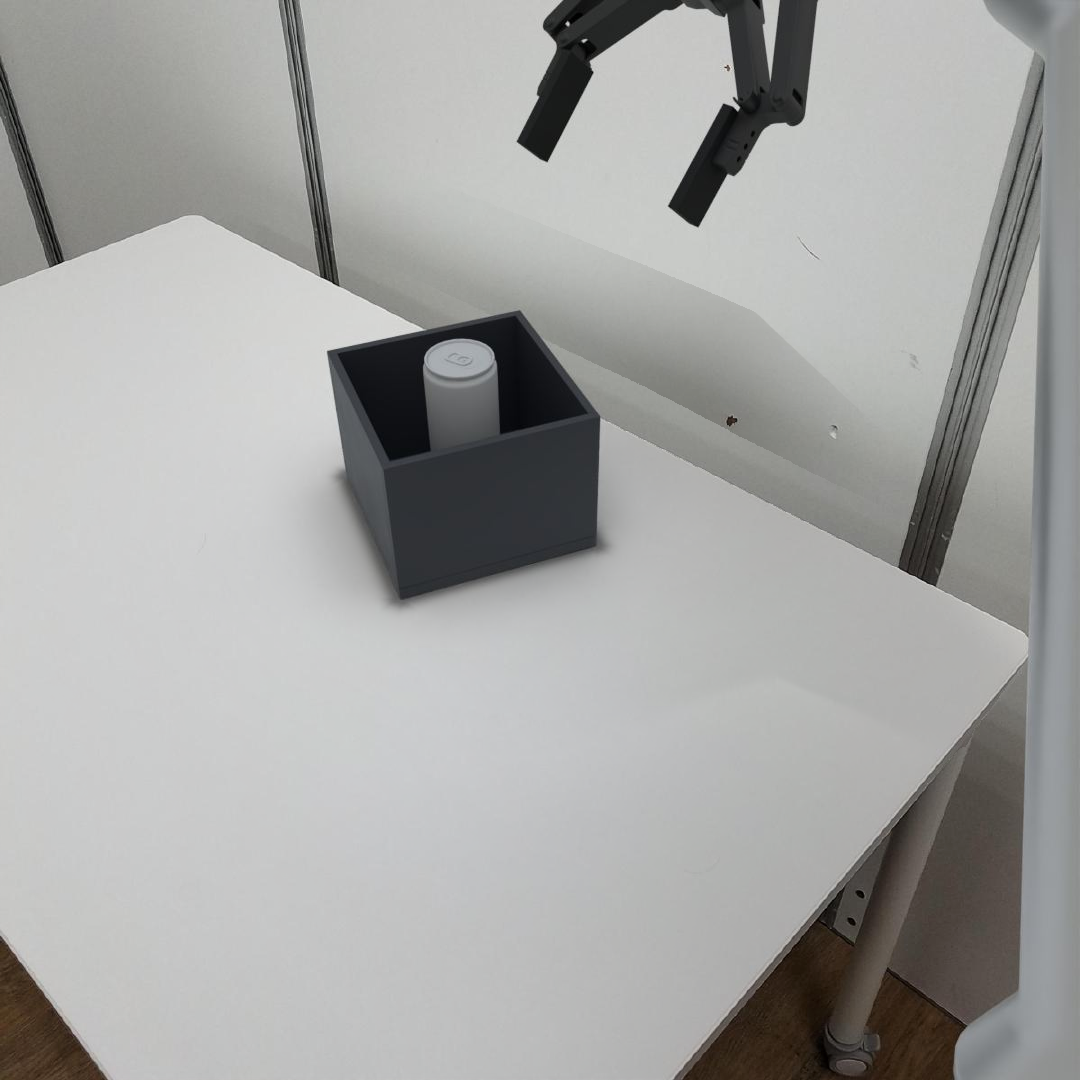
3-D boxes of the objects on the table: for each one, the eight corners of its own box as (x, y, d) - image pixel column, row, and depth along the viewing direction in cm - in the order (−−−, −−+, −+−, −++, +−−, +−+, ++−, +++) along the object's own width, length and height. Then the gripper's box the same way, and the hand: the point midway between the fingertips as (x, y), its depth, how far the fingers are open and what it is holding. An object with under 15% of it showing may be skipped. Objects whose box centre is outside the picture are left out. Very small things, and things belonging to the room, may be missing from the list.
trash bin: (596, 545, 78) (600, 416, 70) (400, 600, 74) (383, 469, 66) (523, 433, 88) (520, 309, 80) (346, 476, 84) (326, 350, 76)
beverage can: (478, 531, 77) (469, 386, 69) (421, 507, 79) (406, 364, 71) (515, 493, 80) (511, 350, 72) (460, 471, 82) (450, 330, 74)
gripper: (978, -72, 62) (783, 271, 66) (655, -133, 77) (510, 152, 80) (939, -160, 56) (727, 223, 60) (596, -209, 71) (442, 103, 74)
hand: (603, 183), depth 70 cm, fingers open, 13 cm apart
